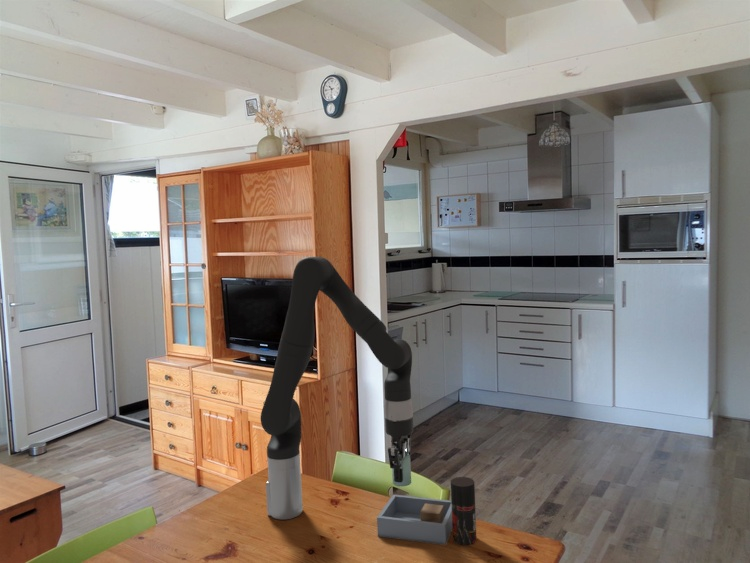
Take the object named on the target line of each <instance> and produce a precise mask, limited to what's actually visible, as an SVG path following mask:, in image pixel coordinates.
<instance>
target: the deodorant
mask: <svg viewBox="0 0 750 563" xmlns="http://www.w3.org/2000/svg"><path fill="white" fill-rule="evenodd" d="M475 490H476V489H475V480H474V479H472V478H471V477H466V476H456V477H453V478H452V479H451V480H450V499H451V500H450V501H451V504H452V541H453V543H455V544H456V545H459V546H462V547H463V546H465V547H466V546H472V545H474V544H476V542H477V520H476V518H477V517H476V516H477V514H476V492H475Z"/></svg>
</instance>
